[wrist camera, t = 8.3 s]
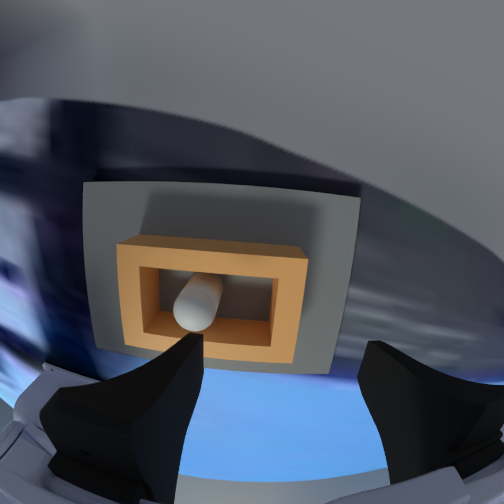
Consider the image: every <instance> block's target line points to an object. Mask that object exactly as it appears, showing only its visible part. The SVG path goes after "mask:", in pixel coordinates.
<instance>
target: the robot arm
mask: <svg viewBox="0 0 504 504" xmlns="http://www.w3.org/2000/svg"><path fill="white" fill-rule="evenodd" d="M43 368H44V372H43V373H42V374H41V375H40V376H39V377H38V378H37V379H36V380H35V381H34V382H33V383H32V384H31V385H30V386H29V387H28V388H27V389H26V390H25V391H24V392H23V393H22V394H21V395H20V396H19V398H18V399H17V401H16V403H15V407H14V412H13V416H14V420H12V421H10V422H9V423H8V424H7V425H6V426H5V427H4V428H3V429H2V430H1V431H0V504H174V499H175V491H176V484H177V478H178V471H179V466H180V460H181V454H182V449H183V444H184V439H185V435H186V432H187V428H188V425H189V423H190V420H191V417H192V414H193V411H194V408H195V405H196V402H197V399H198V396H199V393H200V389H201V384H202V379H203V374H204V334H199V333H191V332H189V333H188V334H187V335H185V336H184V337H183V338H181V339H180V340H179V341H178V342H176V343H175V344H174V345H173V346H171V347H170V348H169V349H167V350H166V351H165V352H163V353H162V354H160V355H159V356H157V357H156V358H154V359H153V360H151V361H150V362H148V363H146V364H144V365H142V366H141V367H138V368H136V369H134V370H132V371H130V372H128V373H125V374H122V375H120V376H117V377H114V378H111V379H108V380H104V381H98V380H95V379H92V378H88V377H85V376H82V375H79V374H76V373H73V372H70V371H67V370H64V369H62V368H59V367H56V366H53V365H51V364H48V363H44V364H43ZM357 379H358V383H359V386H360V390H361V393H362V396H363V398H364V400H365V403H366V405H367V407H368V409H369V412H370V414H371V416H372V418H373V420H374V423H375V425H376V427H377V429H378V432H379V434H380V437H381V441H382V444H383V448H384V452H385V456H386V461H387V465H388V471H389V478H390V484H391V485H388V486H385V487H381V488H376V489H372V490H368V491H363V492H359V493H356V494H352V495H348V496H344V497H340V498H338V499H335V500H333V501H330V502H328V503H325V504H501V503H502V502H503V501H504V442H502V441H501V440H500V438H501V437H502V436H503V433H502V432H501V431H500V429H501V427H502V426H503V424H504V385H490V384H482V383H476V382H471V381H466V380H463V379H459V378H456V377H452V376H449V375H447V374H444V373H442V372H439V371H437V370H434V369H432V368H430V367H428V366H426V365H424V364H422V363H420V362H418V361H417V360H415V359H413V358H411V357H409V356H408V355H406V354H404V353H403V352H401V351H399V350H397V349H396V348H394V347H392V346H390V345H388V344H387V343H385V342H382V341H380V340H379V341H368V343H367V347H366V350H365V353H364V357H363V360H362V363H361V366H360V369H359V373H358V376H357Z"/></svg>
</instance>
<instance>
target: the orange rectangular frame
mask: <svg viewBox="0 0 504 504" xmlns="http://www.w3.org/2000/svg"><path fill="white" fill-rule="evenodd" d="M116 245H117V270H118V286H119V298H120V308H121V317H122V326H123V333H124V340H125V345H130V346H135V347H140V348H146V349H152V350H157V351H163V352H165V351H166V350H167V349H169V348H170V347H171V346H173V345H174V344H175V343H176V342H178V341H179V340H180V339H181V338H183V337H184V336H185V335H187V334H188V333H189V332H191V333H199V334H204V357H207V358H217V359H227V360H238V361H252V362H269V363H292V362H293V356H294V351H295V345H296V339H297V334H298V328H299V321H300V315H301V309H302V302H303V295H304V288H305V281H306V274H307V266H308V258H307V257H306V255H305V254H304V253H303V251H302V250H301V249H300V247H299V246H287V245H275V244H262V243H250V242H237V241H224V240H210V239H197V238H183V237H169V236H155V235H140V234H139V235H137V236H134V237H132V238H129V239H127V240H125V241H122V242H120V243H118V244H116ZM159 268H162V269H172V270H183V271H194V272H205V273H216V274H228V275H241V276H253V277H267V278H273V283H272V292H271V301H270V311H269V319H268V321H256V320H242V319H230V318H219V317H215V318H214V320H213V322H212V323H211V325H210V326H208V327H207V328H206V329H204V330H201V331H189V330H186V329H184V328H183V327H181V326H180V325H179V324H178V322H177V321H176V319H175V317H174V312H166V311H160V301H159Z"/></svg>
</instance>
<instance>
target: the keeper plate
mask: <svg viewBox="0 0 504 504" xmlns="http://www.w3.org/2000/svg"><path fill="white" fill-rule="evenodd" d="M360 200H361V198H357V197H350V196H343V195H336V194H328V193H320V192H311V191H302V190H292V189H282V188H271V187H260V186H247V185H232V184H215V183H193V182H154V181H116V182H84V185H83V244H84V261H85V274H86V284H87V293H88V301H89V308H90V315H91V321H92V327H93V333H94V338H95V343H96V348H99V349H103V350H108V351H112V352H116V353H121V354H125V355H130V356H135V357H140V358H145V359H150V360H153V359H154V358H156V357H157V356H159V355H160V354H162V353H163V351H157V350H152V349H146V348H140V347H135V346H130V345H125V340H124V333H123V326H122V317H121V308H120V298H119V286H118V270H117V245H116V244H118V243H120V242H122V241H125V240H127V239H129V238H132V237H134V236H137V235H139V234H140V235H155V236H169V237H183V238H197V239H210V240H224V241H237V242H250V243H262V244H275V245H287V246H299V247H300V249H301V250H302V251H303V253H304V254H305V255H306V257H307V258H308V266H307V274H306V281H305V288H304V295H303V302H302V309H301V315H300V321H299V328H298V334H297V339H296V345H295V351H294V356H293V362H292V363H269V362H252V361H238V360H227V359H217V358H207V357H204V368H212V369H222V370H232V371H245V372H260V373H284V374H329V370H330V366H331V362H332V359H333V355H334V351H335V347H336V342H337V338H338V334H339V330H340V325H341V321H342V316H343V311H344V306H345V301H346V296H347V291H348V286H349V280H350V274H351V268H352V262H353V256H354V249H355V242H356V234H357V227H358V218H359V209H360ZM272 283H273V278H267V277H253V276H241V275H228V274H216V273H205V272H194V271H183V270H172V269H162V268H159V301H160V311H166V312H174V317H175V319H176V321H177V322H178V324H179V325H180V326H181V327H183V328H184V329H186V330H189V331H201V330H204V329H206V328H207V327H208V326H210V325H211V323H212V322H213V320H214V318H215V317H219V318H230V319H242V320H256V321H268V319H269V311H270V301H271V292H272Z"/></svg>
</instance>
